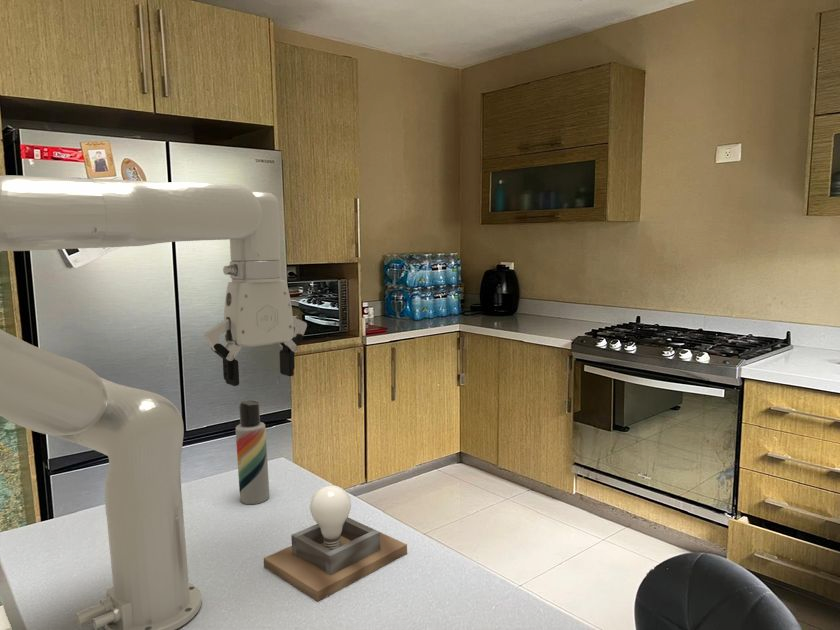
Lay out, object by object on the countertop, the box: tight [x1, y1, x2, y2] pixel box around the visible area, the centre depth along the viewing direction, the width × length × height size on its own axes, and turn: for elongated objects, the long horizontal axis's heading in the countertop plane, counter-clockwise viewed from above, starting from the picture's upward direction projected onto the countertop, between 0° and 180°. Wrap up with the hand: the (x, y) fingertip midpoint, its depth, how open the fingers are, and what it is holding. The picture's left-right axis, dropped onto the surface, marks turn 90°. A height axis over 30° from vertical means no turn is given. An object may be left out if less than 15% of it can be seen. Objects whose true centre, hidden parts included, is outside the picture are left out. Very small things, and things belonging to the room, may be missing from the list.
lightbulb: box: [309, 484, 352, 550], centre depth 99 cm, size 6×6×11 cm
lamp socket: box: [263, 517, 408, 602], centre depth 100 cm, size 18×14×4 cm
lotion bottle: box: [235, 400, 270, 505], centre depth 123 cm, size 6×6×20 cm
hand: (260, 379), depth 99 cm, fingers open, 9 cm apart
